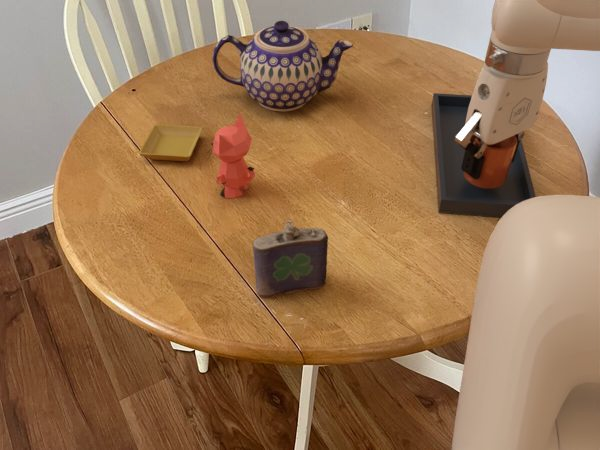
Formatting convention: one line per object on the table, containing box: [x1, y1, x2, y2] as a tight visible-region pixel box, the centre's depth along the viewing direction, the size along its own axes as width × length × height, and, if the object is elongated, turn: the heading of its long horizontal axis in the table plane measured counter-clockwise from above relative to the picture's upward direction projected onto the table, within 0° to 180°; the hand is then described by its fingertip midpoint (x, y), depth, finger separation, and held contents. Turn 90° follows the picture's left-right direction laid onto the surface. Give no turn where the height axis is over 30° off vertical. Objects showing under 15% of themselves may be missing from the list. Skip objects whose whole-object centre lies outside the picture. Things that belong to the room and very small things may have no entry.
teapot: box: [211, 20, 354, 112], centre depth 105 cm, size 25×15×15 cm, turn 85°
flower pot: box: [464, 130, 517, 189], centre depth 86 cm, size 6×6×7 cm
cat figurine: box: [206, 113, 256, 199], centre depth 86 cm, size 7×7×12 cm
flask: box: [252, 219, 329, 298], centre depth 72 cm, size 9×3×11 cm, turn 103°
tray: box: [431, 92, 537, 219], centre depth 95 cm, size 30×14×3 cm, turn 173°
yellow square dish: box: [138, 123, 204, 162], centre depth 97 cm, size 9×9×2 cm
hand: (487, 165), depth 87 cm, fingers closed on flower pot, 6 cm apart
